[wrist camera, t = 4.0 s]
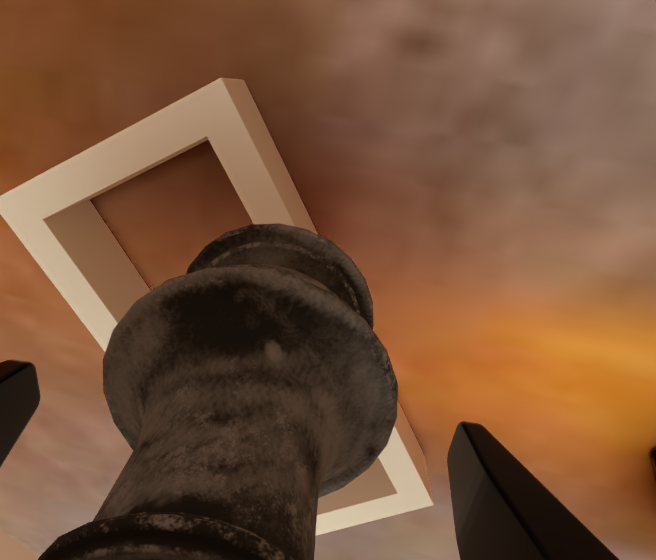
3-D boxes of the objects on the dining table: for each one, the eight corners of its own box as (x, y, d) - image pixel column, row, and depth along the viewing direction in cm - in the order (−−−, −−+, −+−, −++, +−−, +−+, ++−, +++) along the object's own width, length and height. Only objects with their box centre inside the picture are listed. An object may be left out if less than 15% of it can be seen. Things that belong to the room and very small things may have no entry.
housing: (423, 454, 26) (433, 504, 23) (266, 499, 29) (256, 550, 26) (243, 79, 18) (220, 77, 15) (46, 183, 21) (-10, 200, 18)
